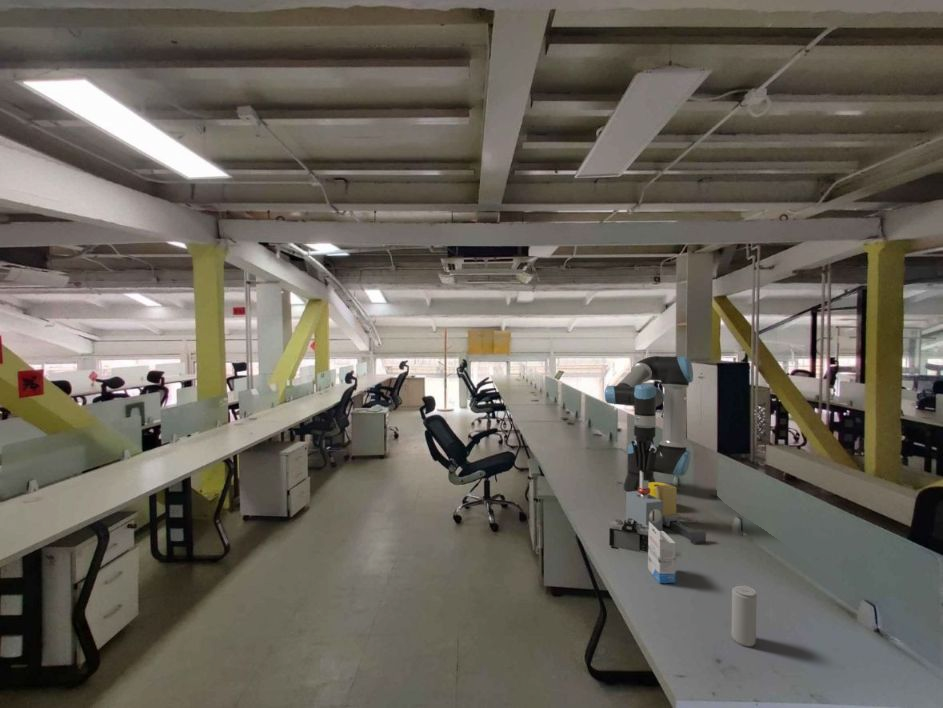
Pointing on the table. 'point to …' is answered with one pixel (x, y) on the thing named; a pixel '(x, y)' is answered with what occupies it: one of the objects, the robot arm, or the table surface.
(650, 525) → the ink box
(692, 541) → the rail
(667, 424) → the robot arm
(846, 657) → the table surface
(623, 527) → the camera
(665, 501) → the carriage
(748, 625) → the beverage can
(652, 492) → the tape roll
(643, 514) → the gauge cabinet
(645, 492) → the plunger
